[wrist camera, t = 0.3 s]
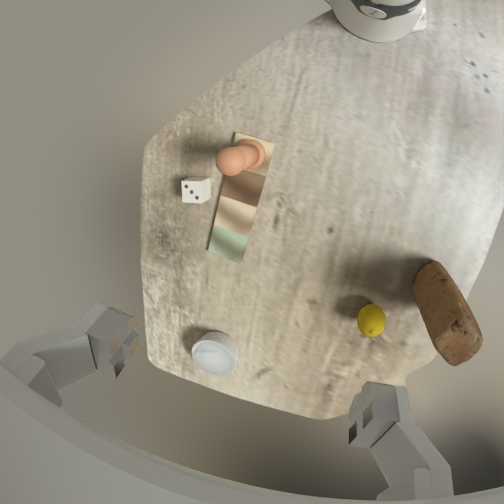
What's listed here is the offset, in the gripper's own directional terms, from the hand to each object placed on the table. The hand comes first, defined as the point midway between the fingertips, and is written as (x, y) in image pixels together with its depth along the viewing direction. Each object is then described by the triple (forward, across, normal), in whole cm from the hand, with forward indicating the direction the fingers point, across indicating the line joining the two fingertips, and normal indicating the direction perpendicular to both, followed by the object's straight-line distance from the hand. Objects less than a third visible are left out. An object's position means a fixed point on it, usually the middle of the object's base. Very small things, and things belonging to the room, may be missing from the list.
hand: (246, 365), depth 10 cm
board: (+46, +10, +11) cm, 49 cm away
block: (+44, -31, +16) cm, 56 cm away
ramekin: (+46, +8, +47) cm, 66 cm away
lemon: (+44, -20, +25) cm, 55 cm away
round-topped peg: (+46, +10, +2) cm, 47 cm away
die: (+47, +18, +10) cm, 51 cm away
